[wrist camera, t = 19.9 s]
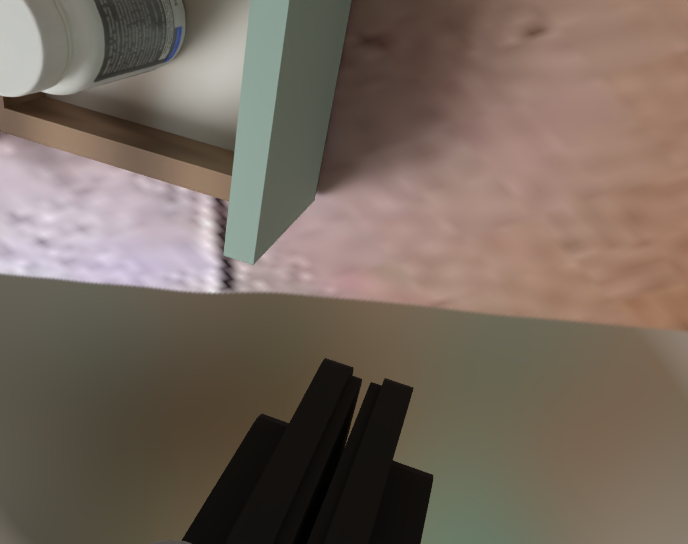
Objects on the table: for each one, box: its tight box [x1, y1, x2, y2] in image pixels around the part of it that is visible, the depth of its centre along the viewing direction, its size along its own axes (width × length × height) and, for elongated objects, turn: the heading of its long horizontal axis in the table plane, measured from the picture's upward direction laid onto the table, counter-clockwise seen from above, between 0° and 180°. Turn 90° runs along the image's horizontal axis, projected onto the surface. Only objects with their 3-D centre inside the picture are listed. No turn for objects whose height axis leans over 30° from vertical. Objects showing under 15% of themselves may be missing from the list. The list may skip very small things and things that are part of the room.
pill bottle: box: [0, 0, 186, 97], centre depth 23 cm, size 5×5×8 cm
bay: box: [0, 0, 250, 201], centre depth 25 cm, size 14×12×3 cm
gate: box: [224, 0, 352, 265], centre depth 22 cm, size 12×1×7 cm, turn 169°
